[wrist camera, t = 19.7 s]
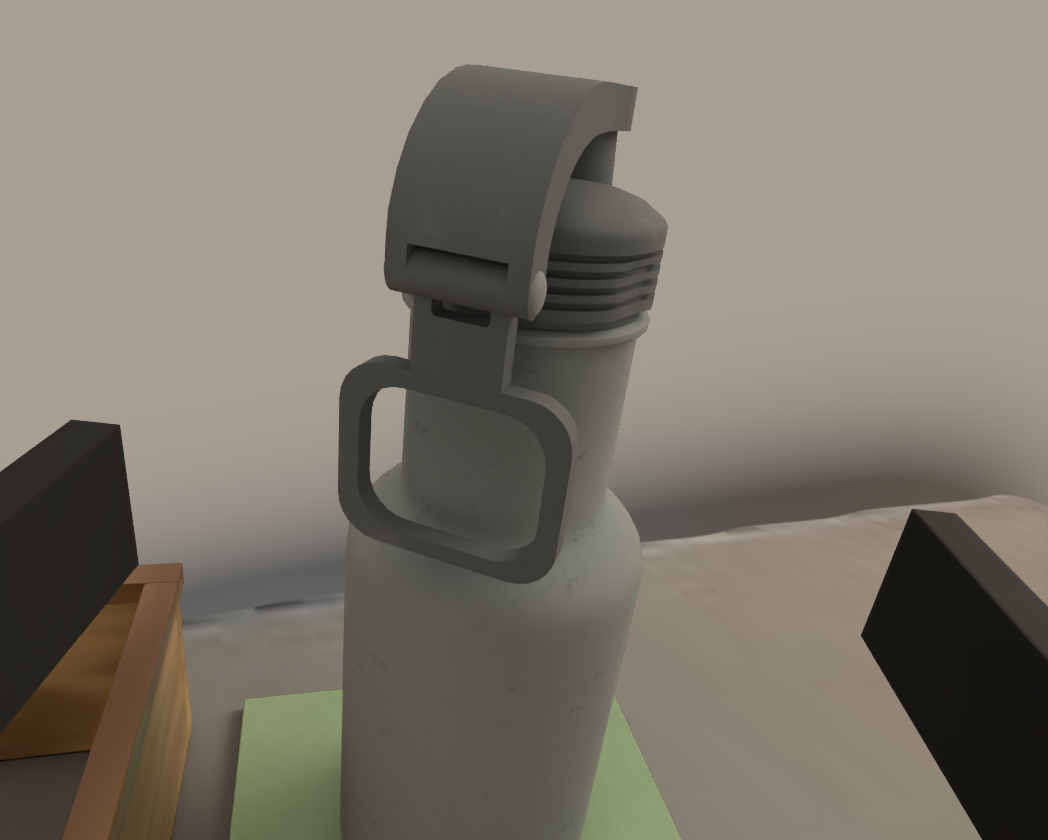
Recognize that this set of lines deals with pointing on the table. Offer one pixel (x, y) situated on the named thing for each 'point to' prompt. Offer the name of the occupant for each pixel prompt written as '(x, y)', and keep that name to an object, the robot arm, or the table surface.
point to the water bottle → (495, 468)
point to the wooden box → (118, 712)
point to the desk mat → (315, 776)
